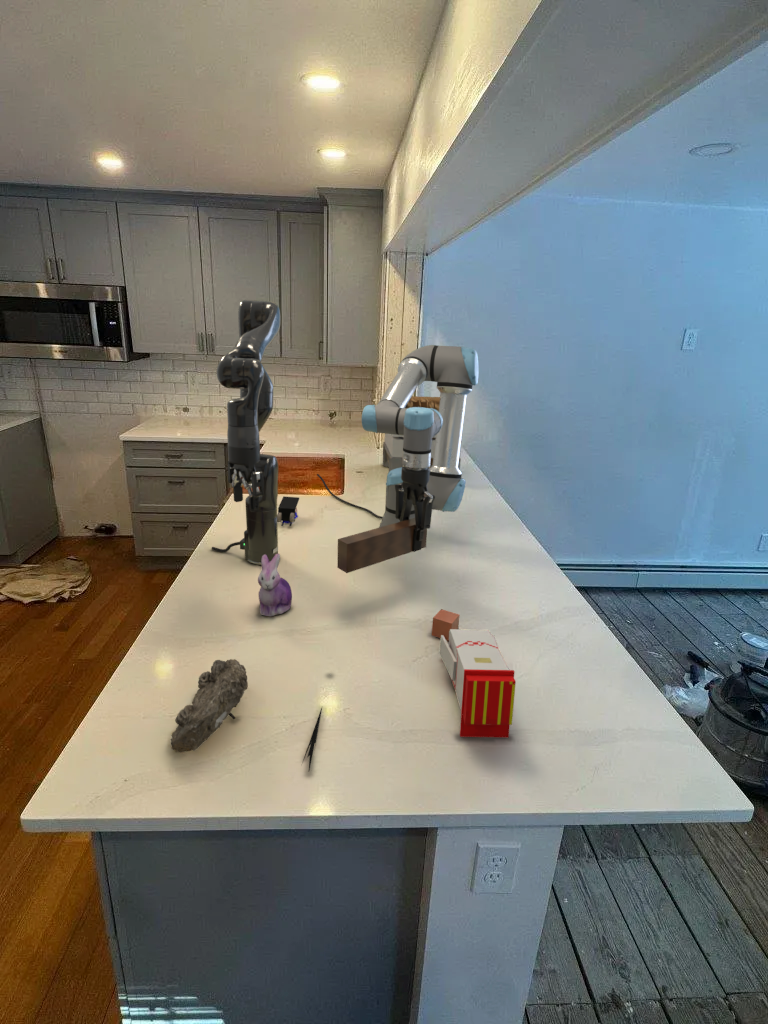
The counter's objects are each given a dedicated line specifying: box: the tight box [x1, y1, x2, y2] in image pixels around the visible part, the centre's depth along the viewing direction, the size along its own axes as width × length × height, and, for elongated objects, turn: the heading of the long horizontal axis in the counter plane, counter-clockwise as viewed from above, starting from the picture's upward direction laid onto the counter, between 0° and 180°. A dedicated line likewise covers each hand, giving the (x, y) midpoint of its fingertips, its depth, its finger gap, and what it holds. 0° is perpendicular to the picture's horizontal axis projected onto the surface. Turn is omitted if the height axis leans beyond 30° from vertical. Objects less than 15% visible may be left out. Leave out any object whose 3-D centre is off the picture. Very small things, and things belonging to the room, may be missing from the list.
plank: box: [336, 518, 428, 574], centre depth 151 cm, size 28×4×8 cm, turn 131°
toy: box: [438, 628, 517, 738], centre depth 117 cm, size 12×13×30 cm
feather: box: [301, 673, 332, 771], centre depth 108 cm, size 2×28×2 cm
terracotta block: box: [431, 608, 461, 642], centre depth 139 cm, size 5×5×5 cm
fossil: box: [170, 658, 249, 753], centre depth 106 cm, size 22×10×15 cm
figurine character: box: [277, 495, 300, 527], centre depth 205 cm, size 7×8×15 cm
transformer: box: [381, 392, 464, 473], centre depth 268 cm, size 34×33×41 cm
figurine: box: [257, 553, 293, 617], centre depth 145 cm, size 9×10×15 cm
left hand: (246, 506), depth 143 cm, fingers open, 8 cm apart
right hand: (410, 547), depth 159 cm, fingers closed on plank, 4 cm apart
